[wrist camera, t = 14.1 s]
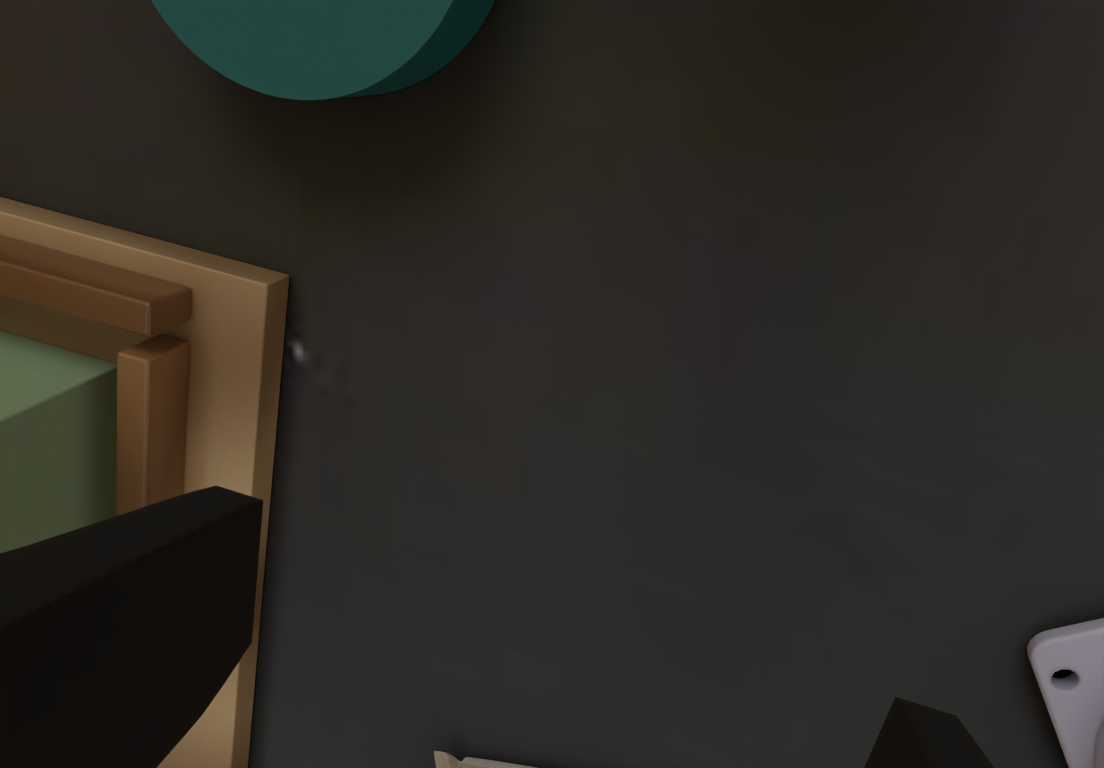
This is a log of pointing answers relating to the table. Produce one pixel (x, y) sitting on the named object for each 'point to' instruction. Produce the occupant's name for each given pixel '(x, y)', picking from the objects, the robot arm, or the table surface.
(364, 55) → the bracket
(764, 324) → the table surface
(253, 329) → the wooden block tray
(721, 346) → the table surface
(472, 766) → the granola bar
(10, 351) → the green block
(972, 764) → the robot arm
